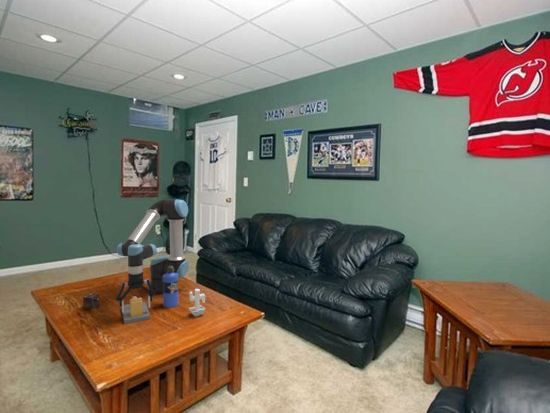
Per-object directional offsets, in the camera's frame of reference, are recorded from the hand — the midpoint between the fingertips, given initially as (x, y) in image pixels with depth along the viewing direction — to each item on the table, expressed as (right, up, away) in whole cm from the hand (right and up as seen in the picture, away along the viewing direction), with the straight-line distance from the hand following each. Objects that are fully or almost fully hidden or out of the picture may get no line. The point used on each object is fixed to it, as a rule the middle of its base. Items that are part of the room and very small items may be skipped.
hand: (136, 309), depth 171 cm
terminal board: (-3, -4, +5) cm, 7 cm away
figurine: (+33, -5, +6) cm, 34 cm away
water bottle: (+13, -4, +19) cm, 23 cm away
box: (-33, -3, +13) cm, 36 cm away
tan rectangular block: (0, -3, 0) cm, 3 cm away
